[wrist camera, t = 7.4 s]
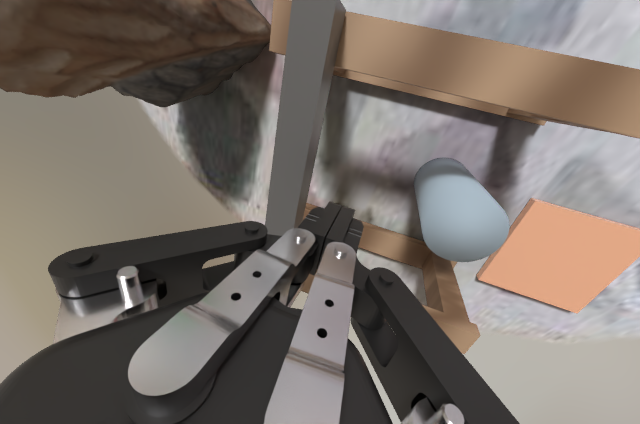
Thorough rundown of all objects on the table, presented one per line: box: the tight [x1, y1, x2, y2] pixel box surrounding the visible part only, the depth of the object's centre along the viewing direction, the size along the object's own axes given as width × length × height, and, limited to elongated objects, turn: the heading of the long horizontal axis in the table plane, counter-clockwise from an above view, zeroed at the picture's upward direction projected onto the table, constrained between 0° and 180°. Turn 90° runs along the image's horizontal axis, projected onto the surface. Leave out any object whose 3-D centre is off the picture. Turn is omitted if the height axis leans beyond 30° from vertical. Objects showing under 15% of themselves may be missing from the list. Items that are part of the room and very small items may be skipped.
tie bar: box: [265, 0, 346, 236], centre depth 16 cm, size 2×19×2 cm, turn 168°
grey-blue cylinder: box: [414, 158, 510, 262], centre depth 20 cm, size 5×5×10 cm
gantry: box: [269, 0, 640, 354], centre depth 21 cm, size 20×20×11 cm
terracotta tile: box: [477, 198, 640, 313], centre depth 24 cm, size 10×10×1 cm
